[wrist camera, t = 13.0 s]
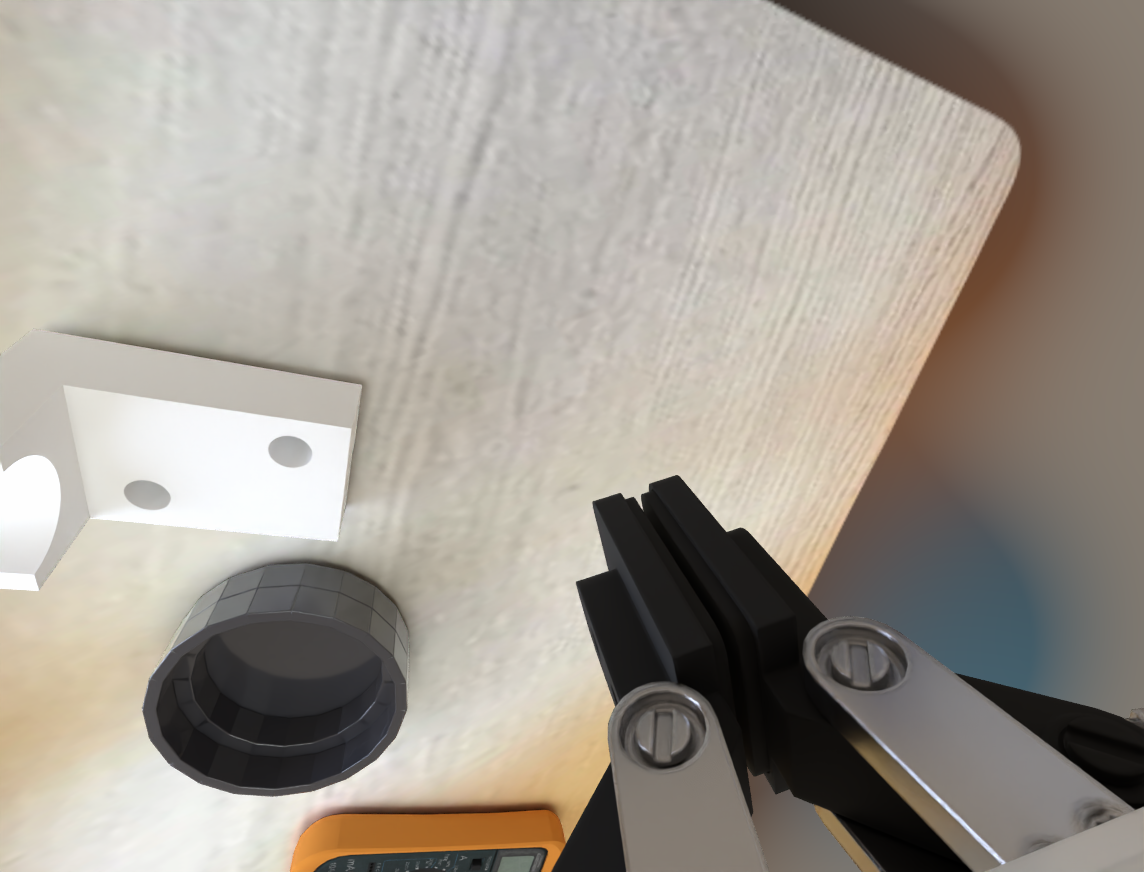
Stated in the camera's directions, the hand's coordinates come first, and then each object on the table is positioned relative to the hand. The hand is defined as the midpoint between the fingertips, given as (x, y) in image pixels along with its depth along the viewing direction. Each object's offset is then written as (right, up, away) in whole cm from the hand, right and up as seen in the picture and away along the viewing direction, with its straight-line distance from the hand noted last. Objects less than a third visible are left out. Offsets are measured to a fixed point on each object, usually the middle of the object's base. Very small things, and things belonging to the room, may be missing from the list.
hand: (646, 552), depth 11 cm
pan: (-17, -10, +23) cm, 30 cm away
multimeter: (-12, -27, +32) cm, 43 cm away
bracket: (-19, +2, +18) cm, 26 cm away
